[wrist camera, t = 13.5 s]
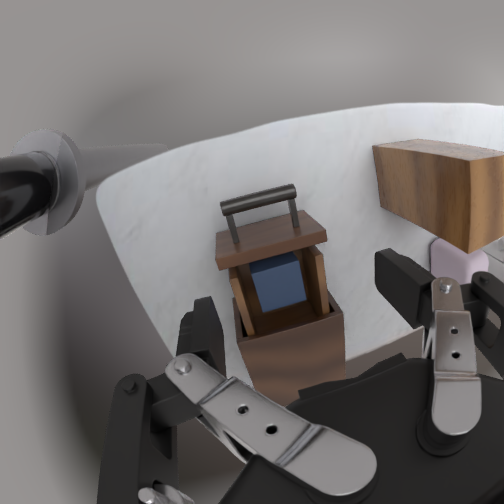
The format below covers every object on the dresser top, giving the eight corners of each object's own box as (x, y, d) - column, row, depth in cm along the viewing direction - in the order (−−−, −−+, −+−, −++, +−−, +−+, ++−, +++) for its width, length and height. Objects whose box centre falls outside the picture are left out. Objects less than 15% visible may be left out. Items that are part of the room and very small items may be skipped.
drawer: (205, 197, 29) (201, 214, 22) (296, 174, 29) (318, 184, 23) (243, 319, 36) (249, 357, 29) (318, 299, 36) (337, 331, 29)
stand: (380, 206, 33) (468, 254, 18) (372, 145, 29) (469, 160, 15) (424, 194, 33) (510, 232, 18) (418, 139, 29) (512, 153, 15)
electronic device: (426, 240, 35) (470, 268, 26) (446, 230, 35) (489, 254, 26) (427, 292, 39) (462, 324, 30) (445, 281, 39) (481, 310, 30)
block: (257, 290, 33) (263, 313, 29) (246, 254, 31) (251, 274, 27) (295, 278, 33) (306, 299, 29) (287, 243, 31) (298, 260, 27)
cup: (462, 263, 38) (506, 295, 27) (483, 221, 36) (531, 245, 25) (480, 282, 41) (517, 311, 30) (500, 244, 38) (539, 268, 27)
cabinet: (232, 297, 35) (236, 343, 27) (317, 274, 35) (343, 312, 27) (256, 366, 40) (264, 410, 32) (326, 346, 41) (345, 387, 32)
